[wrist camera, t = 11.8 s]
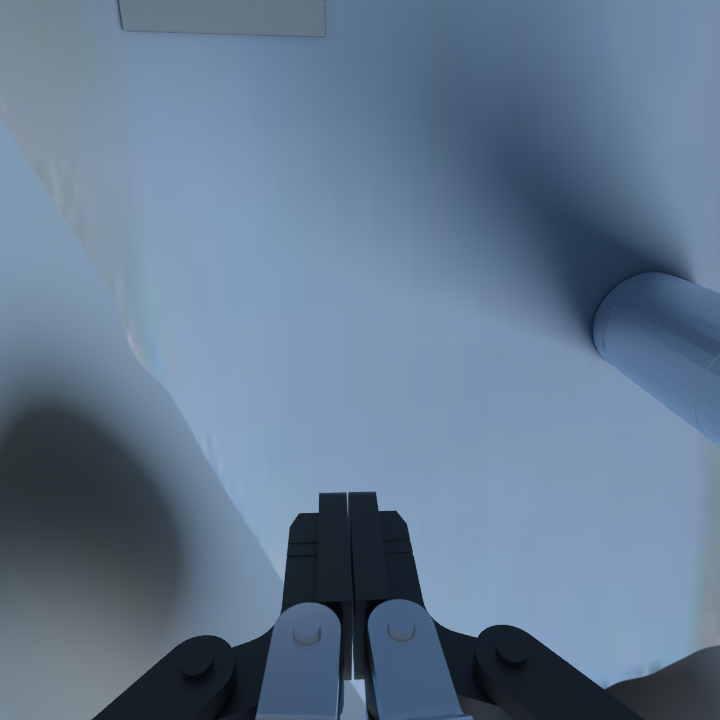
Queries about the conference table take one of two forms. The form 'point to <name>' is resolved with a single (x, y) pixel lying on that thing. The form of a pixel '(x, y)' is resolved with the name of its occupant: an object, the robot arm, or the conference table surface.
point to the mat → (226, 17)
